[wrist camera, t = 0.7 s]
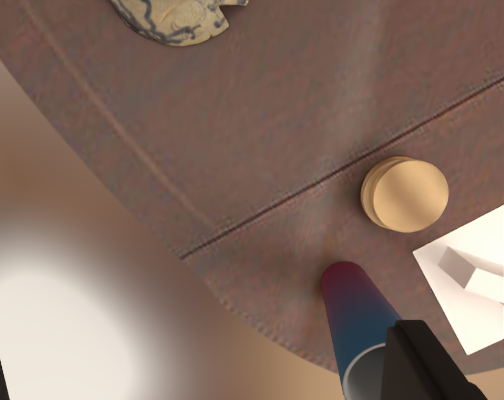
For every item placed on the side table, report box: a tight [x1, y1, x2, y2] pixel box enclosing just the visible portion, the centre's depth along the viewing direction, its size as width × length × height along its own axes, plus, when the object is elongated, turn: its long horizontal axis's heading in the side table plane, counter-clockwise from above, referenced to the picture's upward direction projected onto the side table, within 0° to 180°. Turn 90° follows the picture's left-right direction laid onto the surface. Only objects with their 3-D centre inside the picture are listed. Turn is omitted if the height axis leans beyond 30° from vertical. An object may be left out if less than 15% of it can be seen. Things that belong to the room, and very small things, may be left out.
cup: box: [321, 262, 402, 400], centre depth 33 cm, size 7×7×15 cm
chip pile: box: [361, 156, 448, 232], centre depth 36 cm, size 8×8×3 cm
